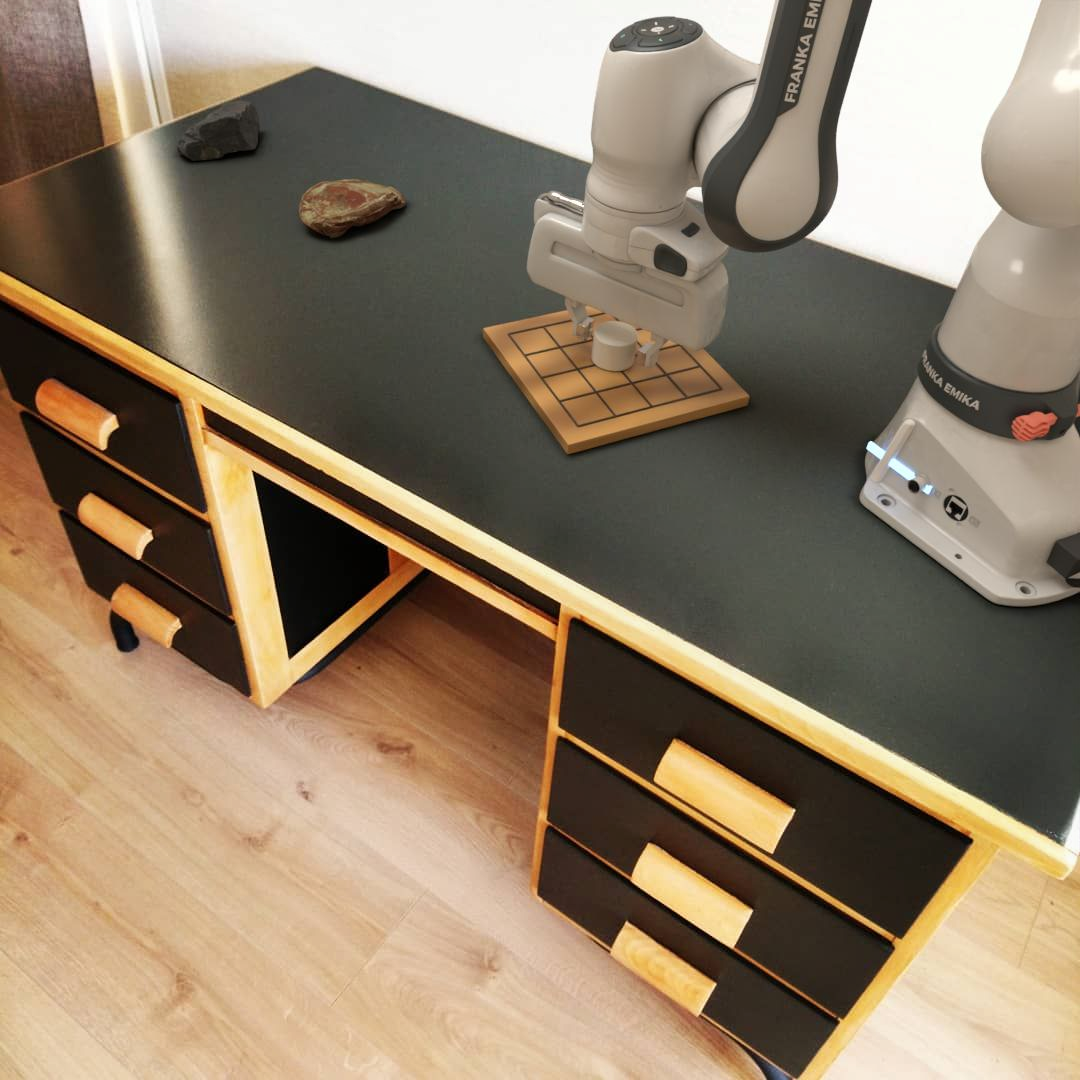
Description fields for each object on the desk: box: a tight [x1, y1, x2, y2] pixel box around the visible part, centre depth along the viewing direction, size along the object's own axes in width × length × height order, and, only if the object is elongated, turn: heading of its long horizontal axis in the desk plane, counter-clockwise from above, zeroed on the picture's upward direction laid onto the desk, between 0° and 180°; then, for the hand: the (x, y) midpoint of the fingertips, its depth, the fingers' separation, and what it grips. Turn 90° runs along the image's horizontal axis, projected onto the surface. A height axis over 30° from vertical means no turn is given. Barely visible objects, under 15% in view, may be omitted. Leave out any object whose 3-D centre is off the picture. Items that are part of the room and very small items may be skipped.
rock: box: [176, 100, 261, 162], centre depth 124 cm, size 10×6×10 cm
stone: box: [298, 178, 407, 239], centre depth 114 cm, size 13×10×3 cm
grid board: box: [482, 305, 750, 455], centre depth 95 cm, size 20×20×1 cm
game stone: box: [591, 321, 638, 371], centre depth 94 cm, size 4×4×3 cm
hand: (613, 349), depth 94 cm, fingers open, 6 cm apart
